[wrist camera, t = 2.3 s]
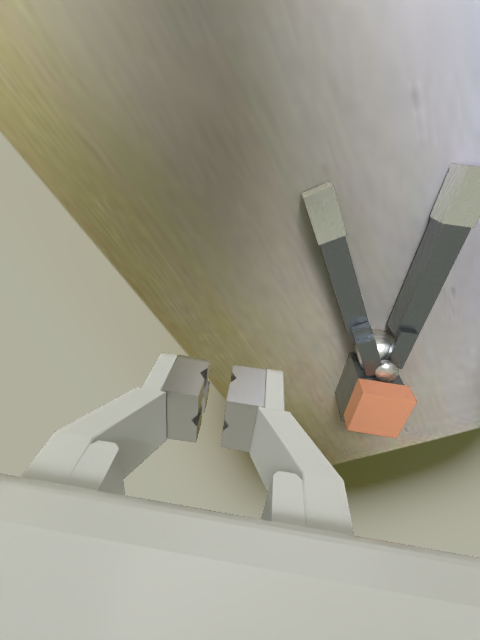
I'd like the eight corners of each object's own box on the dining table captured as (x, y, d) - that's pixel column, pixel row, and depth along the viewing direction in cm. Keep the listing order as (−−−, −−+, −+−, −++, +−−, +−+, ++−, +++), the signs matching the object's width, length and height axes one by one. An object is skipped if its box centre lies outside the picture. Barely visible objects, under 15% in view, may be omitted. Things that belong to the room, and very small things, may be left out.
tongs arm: (386, 352, 33) (400, 378, 29) (354, 360, 34) (363, 387, 30) (341, 175, 25) (352, 181, 21) (301, 193, 26) (305, 201, 22)
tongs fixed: (373, 399, 36) (384, 427, 33) (335, 393, 37) (341, 420, 33) (480, 167, 24) (516, 171, 20) (420, 159, 24) (445, 162, 20)
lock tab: (390, 422, 32) (396, 438, 30) (343, 414, 32) (347, 430, 30) (408, 386, 29) (417, 401, 28) (358, 378, 29) (363, 393, 28)
